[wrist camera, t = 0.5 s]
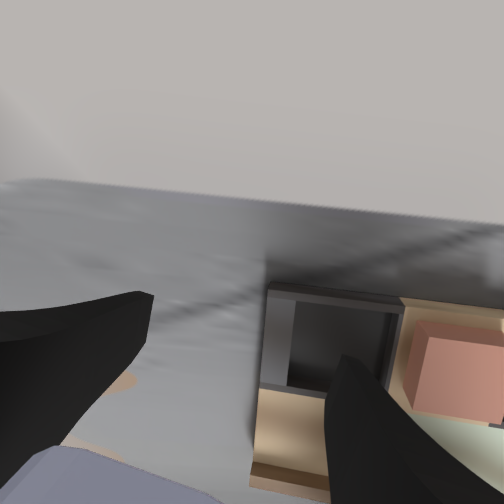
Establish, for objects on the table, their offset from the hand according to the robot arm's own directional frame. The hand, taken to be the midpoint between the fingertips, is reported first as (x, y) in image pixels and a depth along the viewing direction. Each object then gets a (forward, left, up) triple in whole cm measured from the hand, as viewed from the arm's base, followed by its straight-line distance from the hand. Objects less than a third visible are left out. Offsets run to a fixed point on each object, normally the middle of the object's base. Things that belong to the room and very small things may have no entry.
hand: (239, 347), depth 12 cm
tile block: (-11, -5, -8) cm, 14 cm away
